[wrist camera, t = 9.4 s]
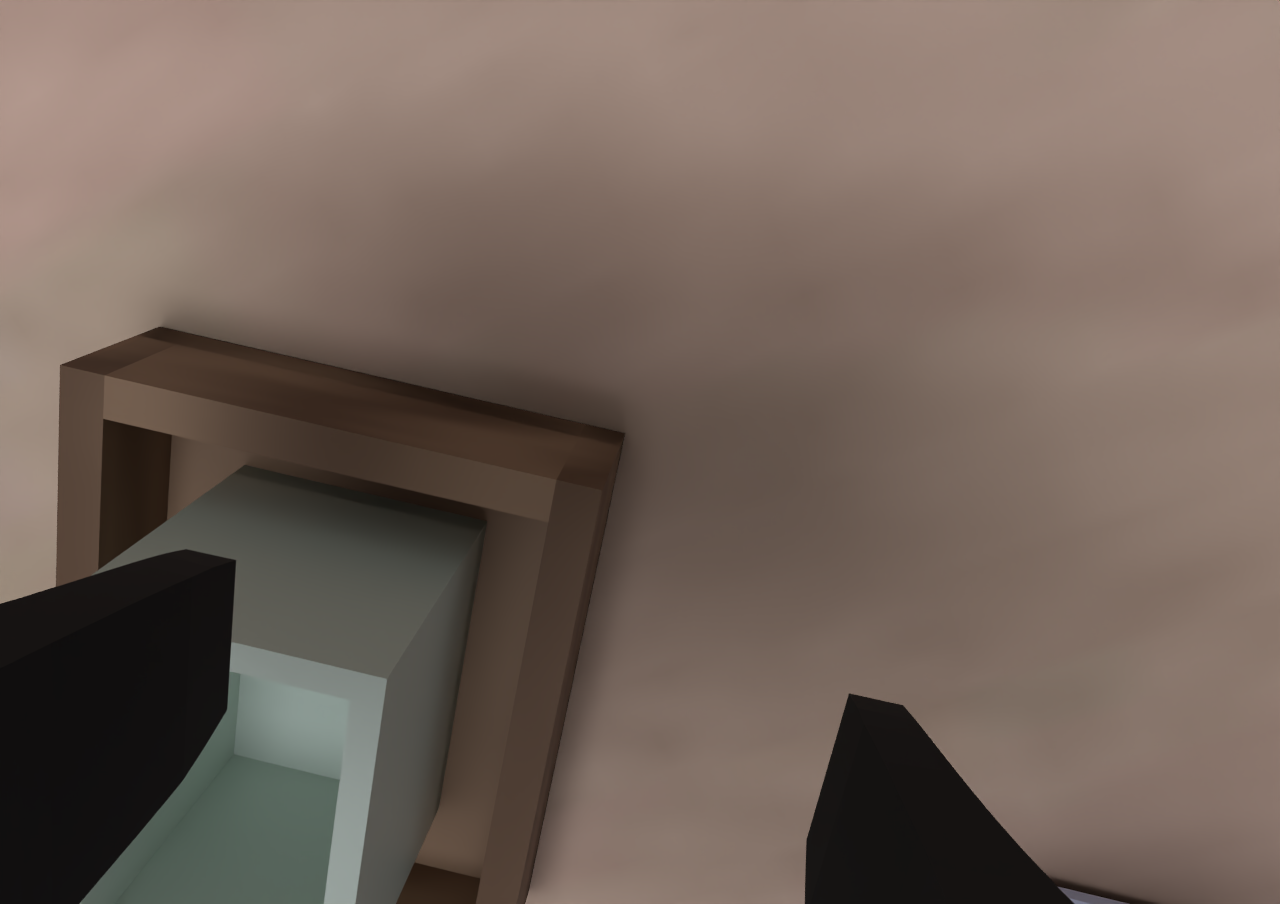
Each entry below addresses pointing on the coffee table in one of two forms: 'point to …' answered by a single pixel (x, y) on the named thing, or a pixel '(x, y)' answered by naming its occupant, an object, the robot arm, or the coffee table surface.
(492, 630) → the walnut crate
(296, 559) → the green crate
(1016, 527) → the coffee table surface
